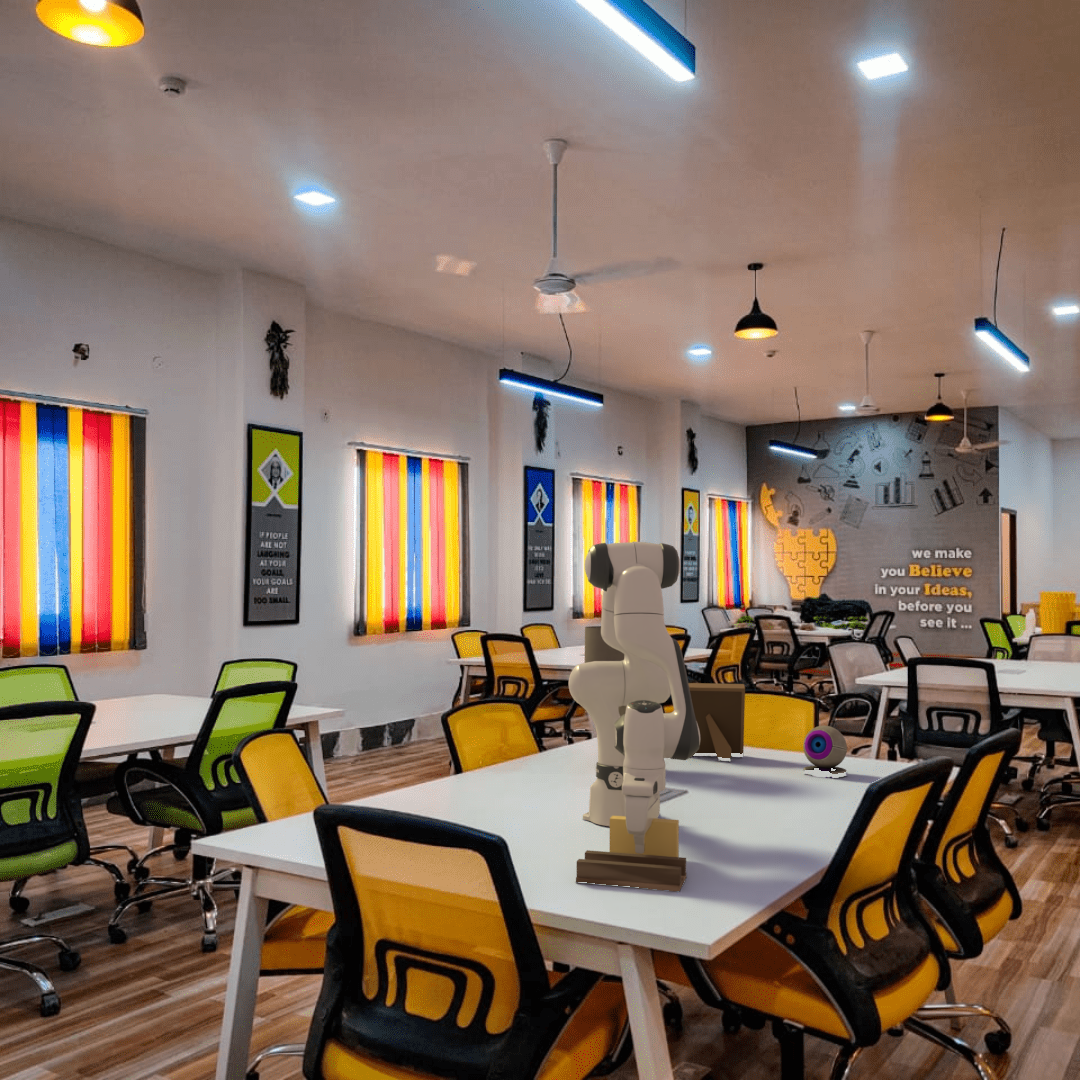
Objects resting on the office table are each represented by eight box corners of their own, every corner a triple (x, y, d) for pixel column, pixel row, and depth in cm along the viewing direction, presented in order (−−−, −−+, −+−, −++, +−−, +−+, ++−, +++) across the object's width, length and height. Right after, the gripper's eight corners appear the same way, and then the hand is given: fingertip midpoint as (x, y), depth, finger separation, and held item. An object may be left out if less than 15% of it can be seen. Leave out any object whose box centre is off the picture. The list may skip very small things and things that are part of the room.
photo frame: (677, 754, 360) (678, 681, 361) (742, 755, 358) (742, 682, 359) (679, 761, 345) (679, 685, 346) (746, 763, 343) (746, 687, 344)
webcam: (796, 774, 322) (796, 725, 322) (815, 769, 331) (814, 722, 332) (836, 780, 313) (835, 729, 314) (854, 774, 323) (853, 725, 324)
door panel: (612, 858, 221) (612, 815, 221) (678, 863, 217) (678, 819, 217) (609, 862, 218) (609, 818, 218) (676, 867, 214) (676, 823, 214)
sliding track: (587, 869, 211) (587, 849, 211) (686, 877, 206) (686, 857, 206) (575, 883, 202) (575, 862, 202) (679, 891, 196) (679, 870, 197)
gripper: (638, 770, 229) (637, 834, 228) (620, 788, 209) (619, 857, 209) (666, 772, 227) (666, 836, 227) (651, 789, 208) (651, 860, 207)
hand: (644, 847), depth 217 cm, fingers open, 8 cm apart
